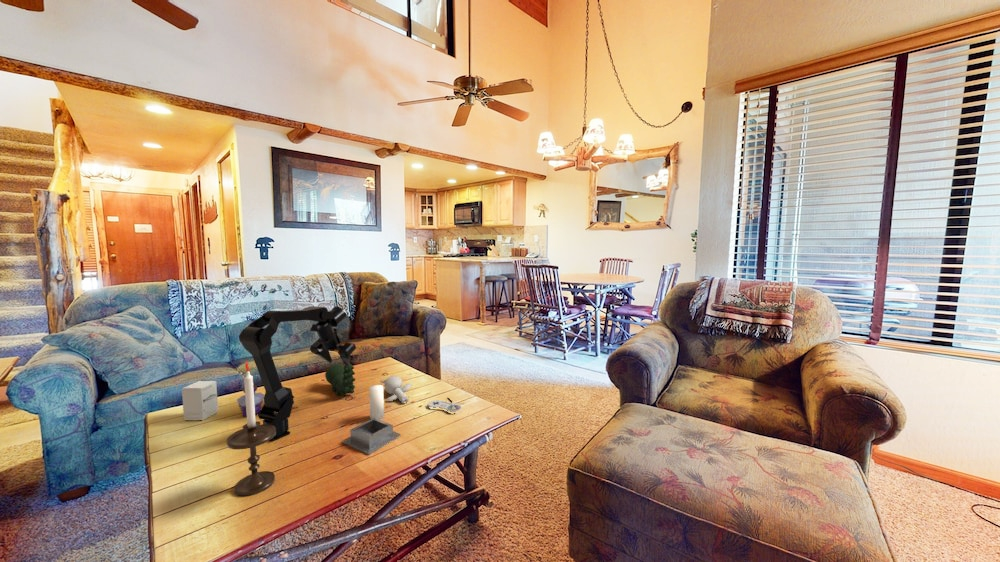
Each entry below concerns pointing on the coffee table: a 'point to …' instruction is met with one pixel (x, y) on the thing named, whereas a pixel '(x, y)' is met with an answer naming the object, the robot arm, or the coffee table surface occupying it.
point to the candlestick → (252, 445)
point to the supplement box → (200, 400)
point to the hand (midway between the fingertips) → (339, 363)
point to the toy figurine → (341, 378)
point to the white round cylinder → (376, 402)
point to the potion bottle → (257, 401)
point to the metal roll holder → (371, 436)
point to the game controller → (445, 405)
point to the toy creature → (396, 388)
